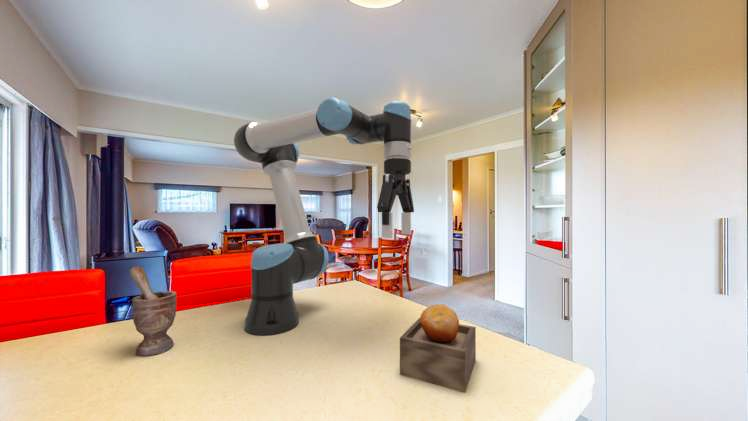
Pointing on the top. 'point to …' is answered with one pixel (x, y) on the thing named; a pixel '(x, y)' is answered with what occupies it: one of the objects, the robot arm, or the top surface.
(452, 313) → the fruit
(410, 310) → the top surface
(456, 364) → the open wooden box
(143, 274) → the mortar and pestle
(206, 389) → the top surface
